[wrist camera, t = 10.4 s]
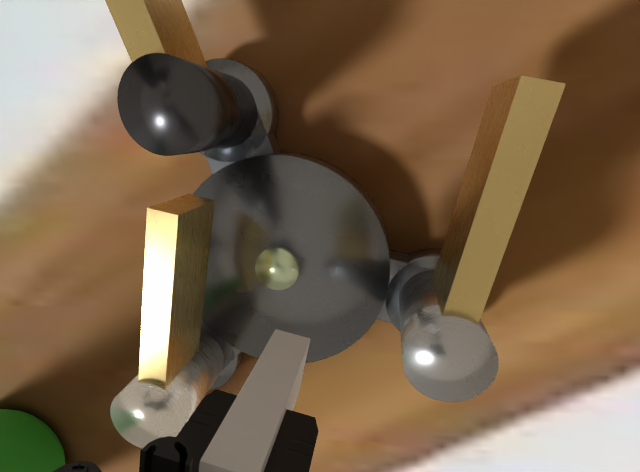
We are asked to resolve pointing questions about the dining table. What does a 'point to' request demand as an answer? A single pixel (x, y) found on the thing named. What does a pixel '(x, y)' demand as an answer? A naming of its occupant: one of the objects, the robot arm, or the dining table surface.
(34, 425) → the bottle
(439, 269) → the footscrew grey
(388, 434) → the dining table surface
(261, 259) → the tribrach plate
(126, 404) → the lever
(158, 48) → the black and tan lever
